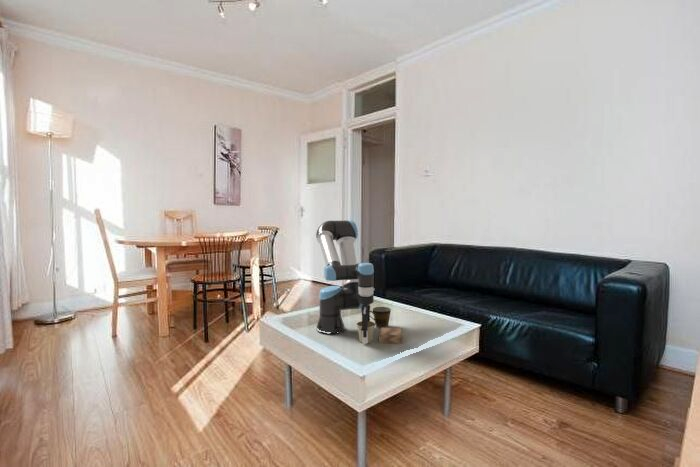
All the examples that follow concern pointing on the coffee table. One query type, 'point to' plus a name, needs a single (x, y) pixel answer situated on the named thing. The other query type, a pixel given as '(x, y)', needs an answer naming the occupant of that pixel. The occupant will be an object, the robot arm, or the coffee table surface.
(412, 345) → the coffee table surface
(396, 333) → the stand
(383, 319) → the ceramic cup
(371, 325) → the flower pot
